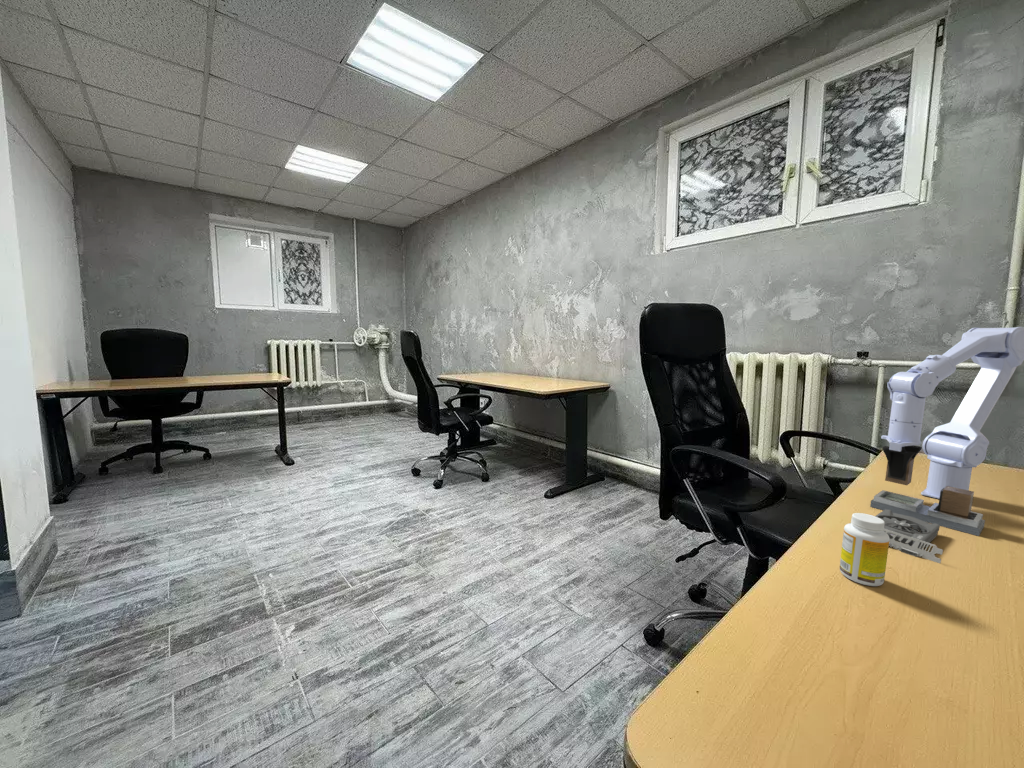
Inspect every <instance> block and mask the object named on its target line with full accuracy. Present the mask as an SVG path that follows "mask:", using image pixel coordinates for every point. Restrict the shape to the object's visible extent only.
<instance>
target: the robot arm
mask: <svg viewBox="0 0 1024 768" xmlns="http://www.w3.org/2000/svg"><path fill="white" fill-rule="evenodd" d="M969 359H971V361H972V362H973V363H974V364H977V365H979V366H980V370H979V372H978V373H977V375H976V376H975V379H974V380H973V381H972V384H971V386H970V387H969V389H968V391H967V393H966V394H965V396H964V398H963V399H962V401H961V403H960V405H959V406H958V408H957V410H956V411H955V413H954V414H953V416H952V418H951V420H950V422H947V423H944V424H941V425H938V426H935V427H934V428H933V430H932V432H931V433H929V434H927V436H926V437H925V438H924V439H923V441H921V437H922V436H921V434H922V427H923V420H924V415H925V414H924V413H925V408H926V406H925V405H926V400H927V397H929V396H932V395H933V394H934V391H935V389H936V387H937V386H938V385H939V383H940V382H943V380H945V379H947V378H948V377H950V376H951V375H953V374H954V373H955V372H956V370H957V366H958V365H959V364H962V363H963V362H966V361H967V360H969ZM1023 363H1024V326H1017V327H1016V326H1015V327H971V328H970V329H968V330H967V331H965V332H964V333H962V335H961V339H960V341H959V342H957V343H956V344H954V345H953V346H952V347H951V348H949V349H948V350H947V351H945V352H944V353H942V354H934V355H933V354H930V355H928V356H926V357H925V359H924V360H923V361H921V362H919V363H918V364H916V365H914V366H912V367H910V368H909V369H908V370H907V371H899V372H898V371H897V373H895V374H893V375H892V376H891V377H890V378H889V381H887V382H886V383H887V384H886V385H887V386H886V387H887V390H888V392H889V394H890V395H889V399H890V401H891V408H890V415H889V416H890V417H889V423H888V431H887V435H885V434H883V435H881V438H880V439H882V440H887V442H888V443H889V446H887V445H884V446H882V451H883V453H884V455H885V458H886V460H887V462H888V466H889V473H890V476H892V477H897V478H902V477H903V475H904V473H905V470H906V467H907V464H908V462H909V460H910V459H911V458H912V459H914V460H915V458H916V457H917V455H918V454H919V453H920V451H923V452H924V454H925V455H926V456H927V460H930V461H929V468H928V475H927V481H926V488H925V489H924V490H923V491H921V492H920V495H922V496H924V497H930V498H935V499H938V500H939V498H940V492H941V490H942V489H943V488H945V487H946V486H950V487H955V488H959V489H964V490H969V489H970V484H971V477H972V470H973V468H977V466H979V465H981V464H982V463H983V462H984V461H985V459H986V457H987V450H988V447H989V445H990V441H989V439H988V438H987V437H986V436H985V435H984V434H983V432H981V430H982V428H983V426H984V425H985V423H986V421H987V419H988V418H989V417H990V415H991V413H992V410H993V409H994V407H995V405H996V404H997V402H998V401H999V399H1000V397H1001V395H1002V393H1003V392H1004V390H1005V388H1006V387H1007V385H1008V383H1009V382H1010V380H1011V378H1012V377H1013V375H1014V373H1015V371H1016V369H1017V367H1018V366H1021V365H1022V364H1023ZM921 444H922V445H921ZM920 445H921V446H922V447H921V446H920ZM969 491H970V490H969Z"/></svg>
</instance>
